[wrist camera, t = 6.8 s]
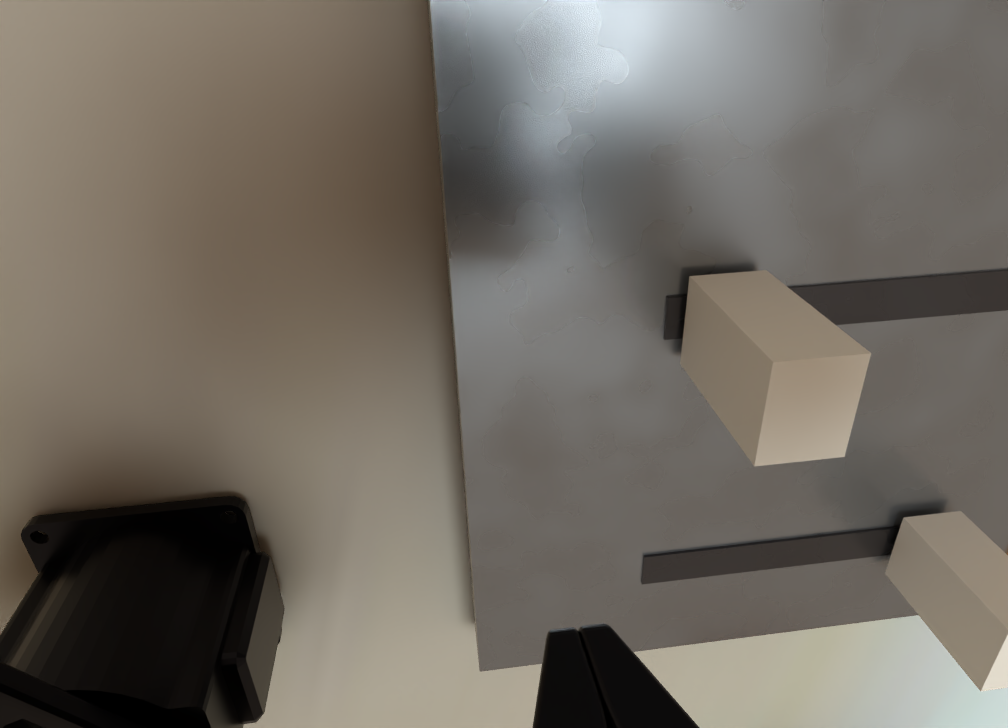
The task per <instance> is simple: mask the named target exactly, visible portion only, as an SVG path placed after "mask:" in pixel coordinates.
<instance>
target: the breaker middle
mask: <svg viewBox="0 0 1008 728" xmlns="http://www.w3.org/2000/svg"><path fill="white" fill-rule="evenodd" d="M870 356H871V353H870V352H869V351H868V350H866V349H865V348H864V347H863V346H861V345H860V344H859V343H858V342H856V341H855V340H854V339H853V338H851V337H850V336H849V335H848V334H846V333H845V332H844V331H842V330H841V329H840V328H839V327H837V326H836V325H835V324H834V323H832V322H831V321H830V320H829V319H827V318H826V317H825V316H824V315H822V314H821V313H820V312H818V311H817V310H816V309H815V308H813V307H812V306H811V305H810V304H808V303H807V302H806V301H805V300H803V299H802V298H801V297H800V296H798V295H797V294H796V293H794V292H793V291H792V290H791V289H789V288H788V287H787V286H786V285H784V284H783V283H782V282H781V281H779V280H778V279H777V278H776V277H774V276H773V275H772V274H771V273H769V272H768V271H767V270H762V271H749V272H736V273H723V274H710V275H698V276H689V285H688V295H687V304H686V313H685V323H684V332H683V342H682V351H681V360H680V364H681V366H682V367H683V368H684V370H685V371H686V373H687V374H688V375H689V377H690V378H691V380H692V381H693V382H694V384H695V385H696V386H697V388H698V389H699V391H700V392H701V393H702V395H703V396H704V398H705V399H706V400H707V402H708V403H709V404H710V406H711V407H712V409H713V410H714V411H715V413H716V414H717V416H718V417H719V418H720V420H721V421H722V422H723V424H724V425H725V427H726V428H727V429H728V431H729V432H730V434H731V435H732V436H733V438H734V439H735V440H736V442H737V443H738V445H739V446H740V447H741V449H742V450H743V451H744V453H745V454H746V456H747V457H748V458H749V460H750V461H751V463H752V464H753V465H754V466H763V465H773V464H782V463H792V462H801V461H811V460H820V459H830V458H839V457H845V453H846V449H847V445H848V441H849V437H850V434H851V430H852V426H853V422H854V418H855V414H856V410H857V407H858V403H859V399H860V395H861V391H862V387H863V383H864V379H865V376H866V372H867V368H868V364H869V360H870Z"/></svg>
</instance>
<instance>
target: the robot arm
mask: <svg viewBox="0 0 1008 728" xmlns="http://www.w3.org/2000/svg"><path fill="white" fill-rule="evenodd" d="M226 511H232V512H234V513H236V515H229V514H227V513H225V512H226ZM39 531H42V532H44V533H46V534H42V533H40V532H39ZM21 537H22V541H23V543H24V545H25V547H26V549H27V551H28V553H29V555H30V557H31V559H32V561H33V563H34V565H35V567H36V569H37V571H38V573H39V574H38V576H37V577H36V579H35V580H34V582H33V584H32V585H31V587H30V588H29V590H28V592H27V593H26V595H25V596H24V598H23V600H22V601H21V603H20V604H19V606H18V608H17V609H16V611H15V612H14V614H13V615H12V617H11V619H10V620H9V622H8V623H7V625H6V627H5V628H4V630H3V631H2V633H1V635H0V728H243V725H244V724H247V723H254V722H257V721H258V720H259V719H260V717H261V716H262V715H263V714H264V712H265V707H266V702H267V696H268V691H269V686H270V681H271V676H272V671H273V666H274V661H275V656H276V651H277V645H278V644H279V642H280V638H281V633H282V627H281V625H282V620H283V615H284V605H283V601H282V598H281V594H280V590H279V586H278V583H277V579H276V575H275V571H274V568H273V564H272V560H271V557H270V556H268V555H267V554H266V553H265V552H261V551H260V547H259V544H258V540H257V536H256V533H255V529H254V526H253V522H252V518H251V515H250V511H249V507H248V505H247V504H246V502H245V501H243V500H242V499H240V498H237V497H232V496H227V497H217V498H207V499H197V500H187V501H178V502H168V503H158V504H148V505H138V506H129V507H119V508H109V509H99V510H89V511H80V512H70V513H60V514H50V515H40V516H36V517H33V518H32V519H31V520H29V521H28V523H27V524H26V526H25V527H24V529H23V530H22V533H21ZM533 728H699V727H698V726H697V724H696V723H695V722H694V721H693V720H692V719H691V718H690V716H689V715H688V714H687V713H686V712H685V711H684V710H683V708H682V707H681V706H680V705H679V704H678V703H677V702H676V700H675V699H674V698H673V697H672V696H671V695H670V694H669V692H668V691H667V690H666V689H665V688H664V687H663V686H662V684H661V683H660V682H659V681H658V680H657V679H656V678H655V676H654V675H653V674H652V673H651V672H650V671H649V670H648V668H647V667H646V666H645V665H644V664H643V663H642V662H641V660H640V659H639V658H638V657H637V656H636V655H635V654H634V652H633V651H632V650H631V649H630V648H629V647H628V646H627V644H626V643H625V642H624V641H623V640H622V639H621V638H620V636H619V635H618V634H617V633H616V632H615V631H614V630H613V629H612V628H611V626H609V625H607V624H605V623H600V624H592V625H584V626H581V627H580V628H579V629H578V631H577V629H576V628H574V627H569V628H561V629H553V630H550V631H548V633H547V636H546V642H545V649H544V655H543V662H542V669H541V675H540V682H539V689H538V695H537V702H536V708H535V715H534V722H533Z"/></svg>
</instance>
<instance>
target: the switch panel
mask: <svg viewBox="0 0 1008 728" xmlns="http://www.w3.org/2000/svg"><path fill="white" fill-rule="evenodd" d="M427 1H428V14H429V27H430V40H431V54H432V67H433V80H434V93H435V106H436V120H437V133H438V146H439V159H440V172H441V185H442V199H443V212H444V225H445V238H446V251H447V264H448V278H449V291H450V304H451V317H452V330H453V343H454V357H455V370H456V383H457V396H458V409H459V423H460V436H461V449H462V462H463V475H464V488H465V502H466V515H467V528H468V541H469V554H470V567H471V581H472V594H473V607H474V620H475V631H476V640H477V650H478V659H479V668H480V671H488V670H496V669H503V668H511V667H519V666H527V665H534V664H542V662H543V655H544V649H545V642H546V636H547V633H548V631H550V630H553V629H561V628H569V627H574V628H576V629H577V631H578V629H579V628H580V627H581V626H584V625H592V624H600V623H605V624H607V625H609V626H611V628H612V629H613V630H614V631H615V632H616V633H617V634H618V635H619V636H620V638H621V639H622V640H623V641H624V642H625V643H626V644H627V646H628V647H629V648H630V649H631V650H632V651H633V652H635V651H643V650H651V649H658V648H666V647H674V646H681V645H689V644H697V643H705V642H712V641H720V640H728V639H736V638H743V637H751V636H759V635H767V634H774V633H782V632H790V631H798V630H805V629H813V628H821V627H829V626H836V625H844V624H852V623H860V622H867V621H875V620H883V619H891V618H898V617H906V616H914V615H918V614H917V612H916V611H915V610H914V609H913V607H912V606H911V605H910V604H909V603H908V601H907V600H906V599H905V598H904V596H903V595H902V594H901V593H900V591H899V590H898V589H897V588H896V587H895V585H894V584H893V583H892V582H891V580H890V579H889V578H888V577H887V575H886V574H885V572H886V569H887V566H888V563H889V560H890V557H891V554H892V551H893V547H894V544H895V541H896V538H897V535H898V532H899V529H900V526H901V523H902V520H903V518H904V517H912V516H921V515H930V514H938V513H947V512H956V511H961V512H962V513H964V514H965V515H966V516H967V517H968V518H969V519H970V520H971V521H972V522H973V523H974V524H975V525H976V526H977V527H978V528H979V529H980V530H981V531H983V532H984V533H985V534H986V535H987V536H988V537H989V538H990V539H991V540H992V541H993V542H994V543H995V544H996V545H997V546H998V547H999V548H1000V549H1002V550H1003V551H1004V552H1005V553H1006V554H1007V555H1008V0H427ZM762 270H767V271H768V272H769V273H771V274H772V275H773V276H774V277H776V278H777V279H778V280H779V281H781V282H782V283H783V284H784V285H786V286H787V287H788V288H789V289H791V290H792V291H793V292H794V293H796V294H797V295H798V296H800V297H801V298H802V299H803V300H805V301H806V302H807V303H808V304H810V305H811V306H812V307H813V308H815V309H816V310H817V311H818V312H820V313H821V314H822V315H824V316H825V317H826V318H827V319H829V320H830V321H831V322H832V323H834V324H835V325H836V326H837V327H839V328H840V329H841V330H842V331H844V332H845V333H846V334H848V335H849V336H850V337H851V338H853V339H854V340H855V341H856V342H858V343H859V344H860V345H861V346H863V347H864V348H865V349H866V350H868V351H869V352H870V353H871V356H870V360H869V364H868V368H867V372H866V376H865V379H864V383H863V387H862V391H861V395H860V399H859V403H858V407H857V410H856V414H855V418H854V422H853V426H852V430H851V434H850V437H849V441H848V445H847V449H846V453H845V457H839V458H830V459H820V460H811V461H801V462H792V463H782V464H773V465H763V466H754V465H753V464H752V463H751V461H750V460H749V458H748V457H747V456H746V454H745V453H744V451H743V450H742V449H741V447H740V446H739V445H738V443H737V442H736V440H735V439H734V438H733V436H732V435H731V434H730V432H729V431H728V429H727V428H726V427H725V425H724V424H723V422H722V421H721V420H720V418H719V417H718V416H717V414H716V413H715V411H714V410H713V409H712V407H711V406H710V404H709V403H708V402H707V400H706V399H705V398H704V396H703V395H702V393H701V392H700V391H699V389H698V388H697V386H696V385H695V384H694V382H693V381H692V380H691V378H690V377H689V375H688V374H687V373H686V371H685V370H684V368H683V367H682V366H681V364H680V360H681V351H682V342H683V332H684V323H685V313H686V304H687V295H688V285H689V276H698V275H710V274H723V273H736V272H749V271H762Z"/></svg>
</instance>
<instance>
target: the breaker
mask: <svg viewBox="0 0 1008 728" xmlns="http://www.w3.org/2000/svg"><path fill="white" fill-rule="evenodd" d="M885 574H886V575H887V577H888V578H889V579H890V580H891V582H892V583H893V584H894V585H895V587H896V588H897V589H898V590H899V591H900V593H901V594H902V595H903V596H904V598H905V599H906V600H907V601H908V603H909V604H910V605H911V606H912V607H913V609H914V610H915V611H916V612H917V614H918V615H919V616H920V617H921V619H922V620H923V621H924V622H925V623H926V625H927V626H928V627H929V628H930V630H931V631H932V632H933V633H934V635H935V636H936V637H937V638H938V639H939V641H940V642H941V643H942V644H943V646H944V647H945V648H946V649H947V651H948V652H949V653H950V654H951V655H952V657H953V658H954V659H955V660H956V662H957V663H958V664H959V665H960V666H961V668H962V669H963V670H964V671H965V673H966V674H967V675H968V676H969V678H970V679H971V680H972V681H973V682H974V684H975V685H976V686H977V687H978V689H979V690H980V691H987V690H994V689H1001V688H1008V555H1007V554H1006V553H1005V552H1004V551H1003V550H1002V549H1000V548H999V547H998V546H997V545H996V544H995V543H994V542H993V541H992V540H991V539H990V538H989V537H988V536H987V535H986V534H985V533H984V532H983V531H981V530H980V529H979V528H978V527H977V526H976V525H975V524H974V523H973V522H972V521H971V520H970V519H969V518H968V517H967V516H966V515H965V514H964V513H962V512H961V511H956V512H947V513H938V514H930V515H921V516H912V517H904V518H903V520H902V523H901V526H900V529H899V532H898V535H897V538H896V541H895V544H894V547H893V551H892V554H891V557H890V560H889V563H888V566H887V569H886V572H885Z"/></svg>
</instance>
